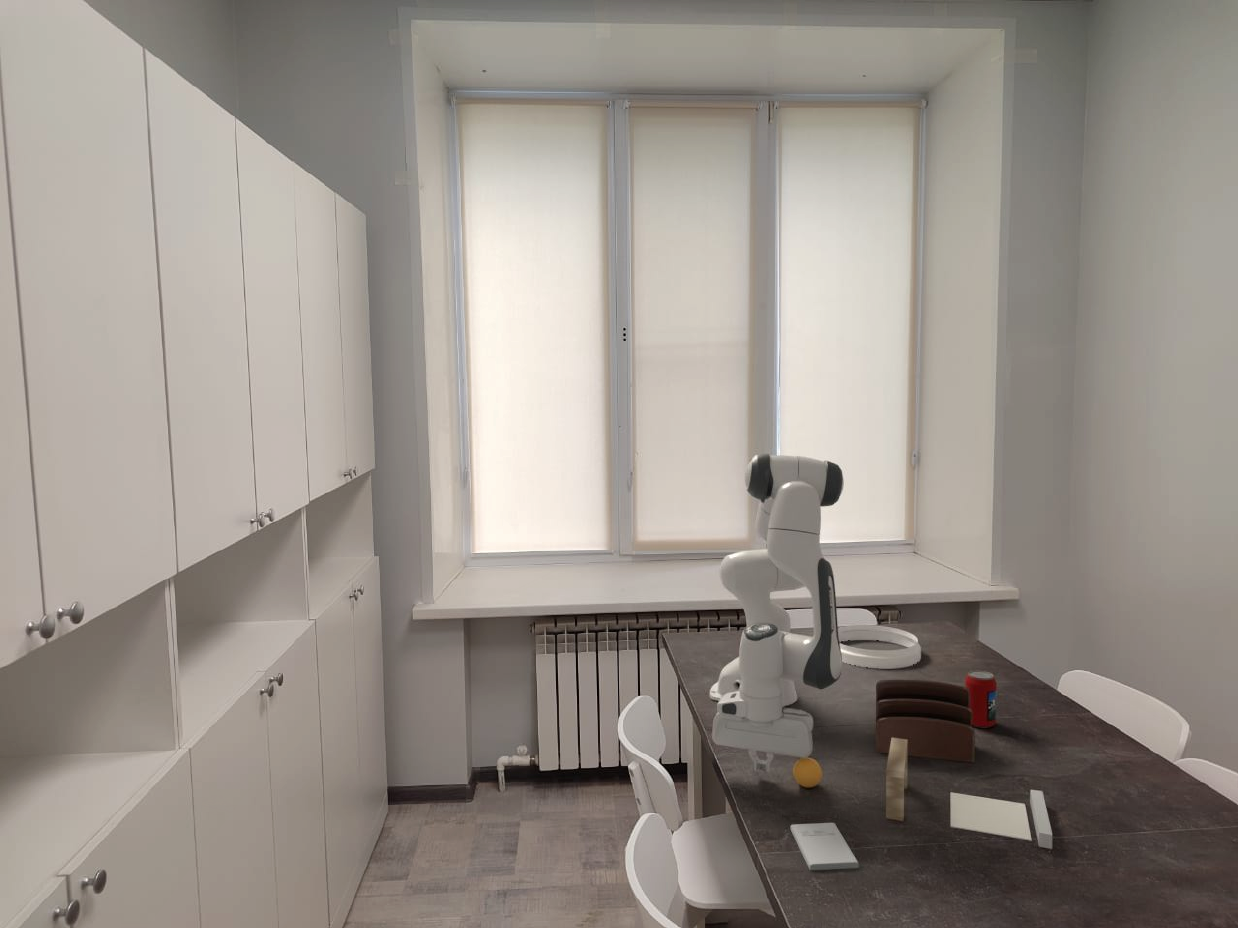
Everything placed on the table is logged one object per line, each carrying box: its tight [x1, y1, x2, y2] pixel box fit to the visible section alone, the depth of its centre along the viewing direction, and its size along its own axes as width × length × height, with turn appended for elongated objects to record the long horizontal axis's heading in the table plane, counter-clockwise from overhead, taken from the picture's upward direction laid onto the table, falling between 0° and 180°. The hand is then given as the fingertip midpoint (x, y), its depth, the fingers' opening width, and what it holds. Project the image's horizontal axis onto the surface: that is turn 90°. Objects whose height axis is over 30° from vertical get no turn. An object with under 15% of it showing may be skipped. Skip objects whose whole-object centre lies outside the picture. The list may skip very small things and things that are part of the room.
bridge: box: [885, 738, 908, 822], centre depth 152 cm, size 3×15×9 cm, turn 157°
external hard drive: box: [790, 822, 859, 871], centre depth 137 cm, size 2×8×12 cm
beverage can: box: [964, 669, 998, 729], centre depth 186 cm, size 7×7×12 cm
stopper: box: [1029, 789, 1053, 850], centre depth 142 cm, size 2×16×2 cm, turn 157°
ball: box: [792, 757, 823, 788], centre depth 158 cm, size 6×6×6 cm
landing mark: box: [949, 791, 1033, 842], centre depth 146 cm, size 13×13×1 cm
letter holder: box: [875, 679, 976, 764], centre depth 174 cm, size 10×20×14 cm, turn 73°
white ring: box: [838, 624, 922, 670], centre depth 238 cm, size 27×27×6 cm
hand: (762, 770), depth 162 cm, fingers closed
